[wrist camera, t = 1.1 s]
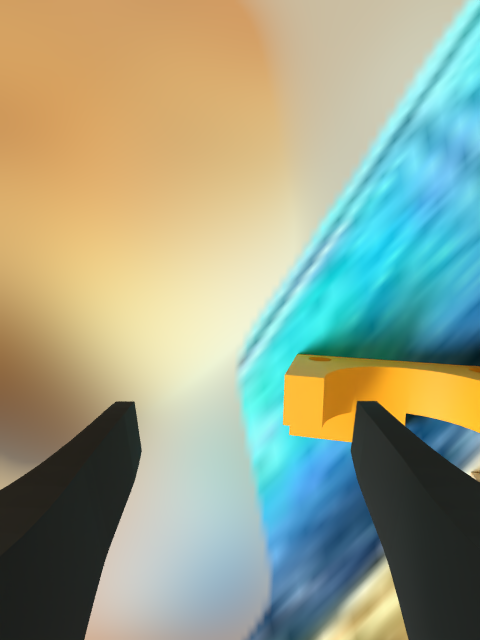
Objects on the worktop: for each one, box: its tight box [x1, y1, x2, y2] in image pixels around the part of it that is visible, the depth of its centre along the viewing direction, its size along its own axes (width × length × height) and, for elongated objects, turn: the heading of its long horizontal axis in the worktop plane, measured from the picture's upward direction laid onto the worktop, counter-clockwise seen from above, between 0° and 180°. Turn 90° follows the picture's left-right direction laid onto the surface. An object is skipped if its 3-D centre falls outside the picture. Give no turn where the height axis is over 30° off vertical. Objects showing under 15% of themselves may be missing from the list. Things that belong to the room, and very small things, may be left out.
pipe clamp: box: [283, 354, 480, 442], centre depth 21 cm, size 12×4×6 cm, turn 89°
